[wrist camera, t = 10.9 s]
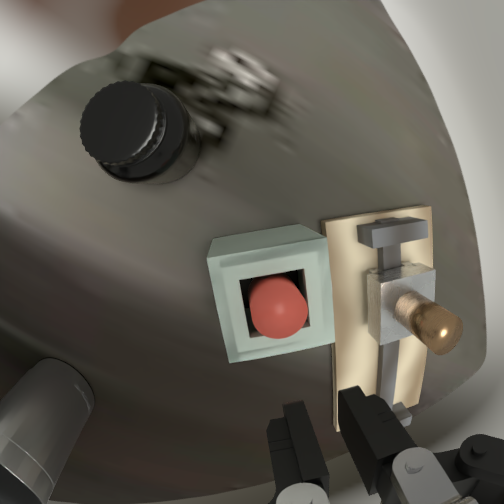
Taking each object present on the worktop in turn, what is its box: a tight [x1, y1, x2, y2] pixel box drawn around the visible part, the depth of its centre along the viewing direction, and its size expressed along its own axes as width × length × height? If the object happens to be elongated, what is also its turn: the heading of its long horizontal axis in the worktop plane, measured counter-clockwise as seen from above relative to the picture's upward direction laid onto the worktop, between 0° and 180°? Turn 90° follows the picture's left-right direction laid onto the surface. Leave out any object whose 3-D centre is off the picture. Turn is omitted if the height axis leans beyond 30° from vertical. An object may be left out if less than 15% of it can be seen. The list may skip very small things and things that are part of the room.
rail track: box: [320, 205, 433, 432], centre depth 28 cm, size 12×26×5 cm, turn 9°
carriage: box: [367, 261, 463, 355], centre depth 23 cm, size 6×6×10 cm
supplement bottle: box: [80, 81, 201, 184], centre depth 19 cm, size 7×7×12 cm
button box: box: [207, 224, 335, 363], centre depth 24 cm, size 8×8×8 cm
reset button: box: [248, 272, 308, 339], centre depth 21 cm, size 4×4×4 cm
